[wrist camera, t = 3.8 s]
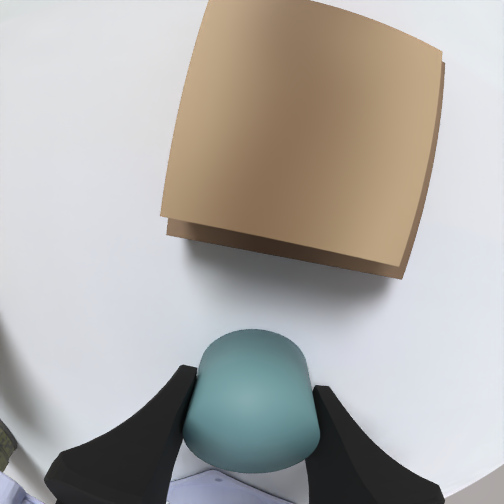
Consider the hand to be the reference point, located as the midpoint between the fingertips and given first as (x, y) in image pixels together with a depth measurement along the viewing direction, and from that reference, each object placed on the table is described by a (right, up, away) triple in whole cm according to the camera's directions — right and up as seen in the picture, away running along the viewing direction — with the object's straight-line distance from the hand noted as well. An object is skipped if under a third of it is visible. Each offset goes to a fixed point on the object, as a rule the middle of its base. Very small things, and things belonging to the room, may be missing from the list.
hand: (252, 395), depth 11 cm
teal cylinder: (0, 0, +1) cm, 1 cm away
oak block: (+1, +10, -3) cm, 10 cm away
